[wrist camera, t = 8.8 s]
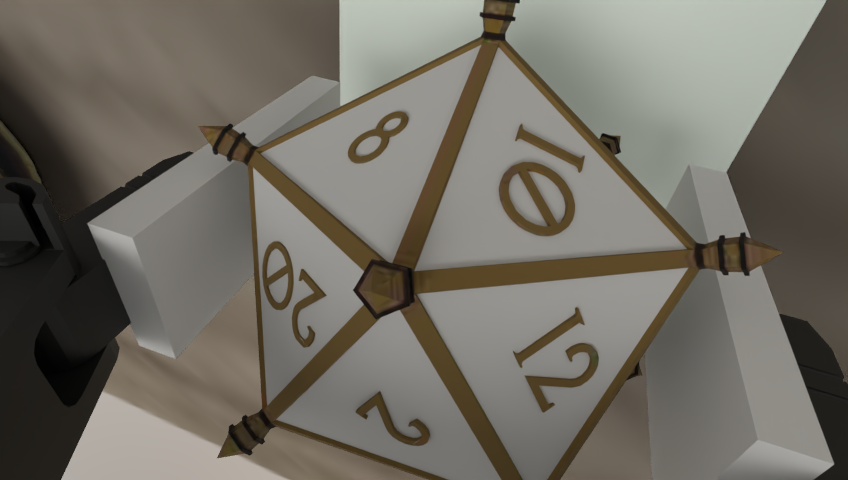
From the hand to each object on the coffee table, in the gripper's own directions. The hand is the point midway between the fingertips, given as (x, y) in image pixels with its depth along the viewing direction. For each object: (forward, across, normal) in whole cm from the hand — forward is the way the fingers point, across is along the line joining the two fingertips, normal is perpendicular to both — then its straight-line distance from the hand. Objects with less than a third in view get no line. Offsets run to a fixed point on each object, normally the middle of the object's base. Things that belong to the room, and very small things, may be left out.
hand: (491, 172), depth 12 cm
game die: (0, 0, 0) cm, 0 cm away
